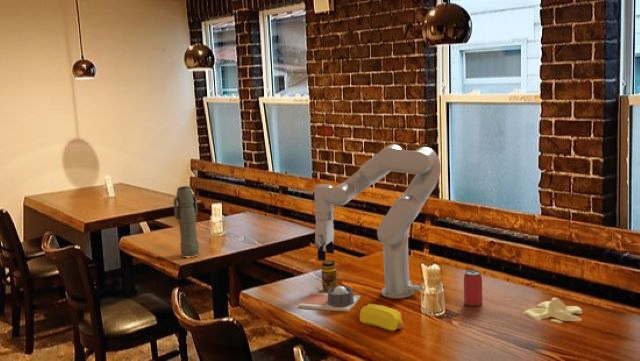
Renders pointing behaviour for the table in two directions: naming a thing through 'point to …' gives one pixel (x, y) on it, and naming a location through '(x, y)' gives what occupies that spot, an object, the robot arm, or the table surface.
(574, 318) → the cloth
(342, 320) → the table surface
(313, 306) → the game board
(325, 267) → the condiment
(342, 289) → the dome
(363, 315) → the faceted yellow knobbed lump
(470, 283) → the beer can
